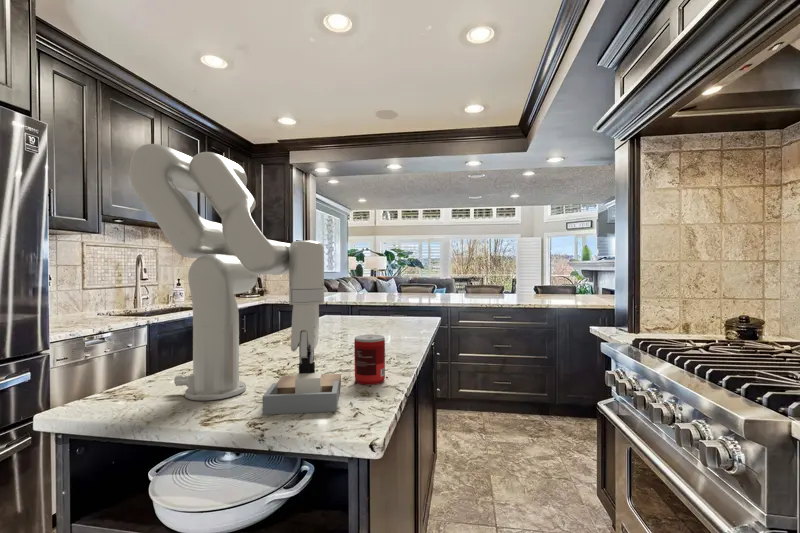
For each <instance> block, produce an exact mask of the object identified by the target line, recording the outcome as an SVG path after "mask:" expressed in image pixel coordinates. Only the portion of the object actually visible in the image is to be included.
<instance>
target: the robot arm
mask: <svg viewBox="0 0 800 533" xmlns="http://www.w3.org/2000/svg"><path fill="white" fill-rule="evenodd" d="M129 178H130V182H131V186H132V188H133V190H134V192H135V194H136V195H137V197H138V198H139V199H140V202H141V203H143V205H144V206H145V208H146V209H147V210H148V212H149V213H150V214H151V216H152V218H154V221H155V222H156V223H157V225H158V227H159V229H161V232H162V233H163V234H164V235H165V237H166V239H167V240H168V242H169V243H170V245H171V246H172V247H173V249H174V250H175V252H176V253H177V254H179V255H180V256H182V257H184V258H188V259H189V258H191V259H195V260H194V261H193V262H192V263H191V265H190V266H189V270H188V272H187V273H188V276H187V280H188V286H189V290H190V292H189V293H190V295H191V296H190V297H191V304H192V373H190V374H189V375H184V374H181V375H180V374H179V375H175V376H174V380H173V382H174V384H175V387H177V386H179V387H182V386H186V387H187V389H186V390H184V397H185V398H186V399H188V400H192V401H202V402H203V401H215V400H216V401H217V400H223V399H228V398H231V397H235V396H238V395H240V394H242V393H244V392H245V391H246V389H247V383H246V382H244V381H241V380H240V338H239V337H240V312H239V307H238V303H237V300H236V297H235V295H238V294H244V293H248V292H249V291H251V290H252V289H253V288H254V287H255V286H256V284H257V281H258V275H271V276H272V275H273V276H274V275H276V276H278V275H286V274H288V304H289V305H290V306H291V305H292V313H291V314H292V315H291V329H290V330H291V335H290V336H291V337H290V338H291V339H290V351H291V352H296V351H297V349H298V352H299V353H298V355H299V356H298V358H299V363H298V374H303V373H316V371H315V370H316V368H315V367H316V366H315V365H316V362H315V349H316V348H317V346H318V343H319V332H320V331H319V330H320V328H319V327H320V305H322V304H323V305H324V304H325V248H324V245H323V243H322V242H319V241H315V240H296V241H293V242H291V243H289V242H282V241H277V240H272V239H268V238H267V237H266V236H265V235H264V233H263V232H262V231H261V230H260V228H259V227H258V225H257V224H256V223H255V221H254V219H253V216H252V215H251V213H253V211H254V209H255V208H256V204H257V203H256V199H255V198H254V196H253V194H252V193H251V191H249V190H248V188H247V185H248V176H247V174H246V172H245V170H244V168H243V167H242V166H241V165H240V164H239V163H236V162H235V161H233V160H231V159H228V158H227V157H226V156H225V157H224V156H223V155H221V154H218V153H215V152H212V151H203V152H200V153H196V154H195V155H193V156H191V155H188V154H186V153H183V152H181V151H179V150H176V149H174V148H172V147H169V146H166V145H163V144H158V143H157V144H156V143H147V144H142V145H140V146H139V147H137V148H136V149H135V151H133V153H132V156H131V159H130V163H129ZM179 189H181V190H184V191H188V192H193V193H201V194H202V193H203V195H204V196H205V198H206V199H207V200H208V202H209V203H210V205H211V206H212V207H213V209H214V210H215V211H216V213H217V215H218V216H219V217H220V218H221V223H219V222H216V221H212V220H211V221H210V220H208V219H205V218H203V217H202V216H201V215H200V214H199V212H197V210H196V209H195V208H194V207H193V205H192V203H191V202H190V200H189V199H188V198H187V197H186V195H184V194H183V192H181V191H180V190H179Z"/></svg>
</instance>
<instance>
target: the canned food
mask: <svg viewBox="0 0 800 533" xmlns="http://www.w3.org/2000/svg"><path fill="white" fill-rule="evenodd" d="M353 344H354V355H353V356H354V380H355V382H356V383H357V384H359V385H364V386H371V385H373V384H374V385H378V384H379V385H380V384H382V383H384V381H385V379H386V339H385V335H380V334H361V335H356V336H354V342H353ZM374 385H373V386H374Z"/></svg>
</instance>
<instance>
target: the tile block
mask: <svg viewBox="0 0 800 533" xmlns="http://www.w3.org/2000/svg"><path fill="white" fill-rule="evenodd" d="M322 375H323V373H322V372H315V373H303V374H299V373H297V374H296V376H297V377H296V378H295V394H296V393H321V392H322Z"/></svg>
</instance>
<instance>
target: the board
mask: <svg viewBox="0 0 800 533" xmlns="http://www.w3.org/2000/svg"><path fill="white" fill-rule="evenodd" d="M296 377H297V375H282V376H281V377H280V378H279V380H277V382H276V383H278V394H295V378H296ZM334 381H339V394H340V392H341V384H342V374H341V373H330V374H322V392H332V389H333V384H334Z"/></svg>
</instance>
